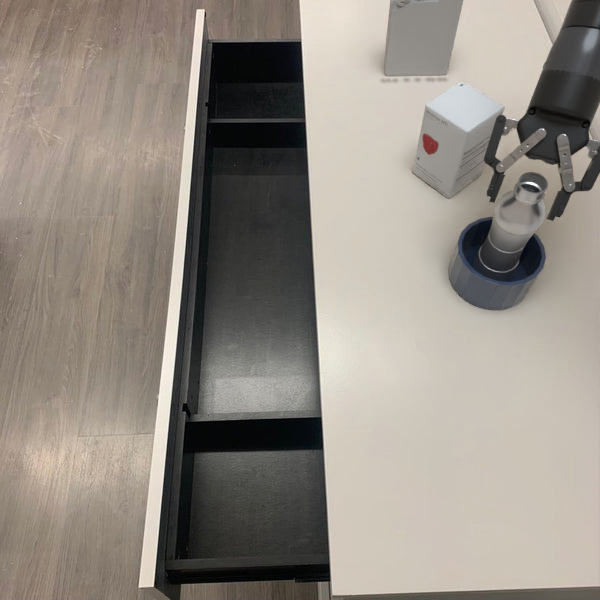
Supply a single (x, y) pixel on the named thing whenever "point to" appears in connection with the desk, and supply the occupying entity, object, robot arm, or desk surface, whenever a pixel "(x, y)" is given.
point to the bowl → (485, 289)
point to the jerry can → (420, 36)
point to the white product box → (455, 138)
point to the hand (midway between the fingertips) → (520, 210)
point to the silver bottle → (512, 228)
